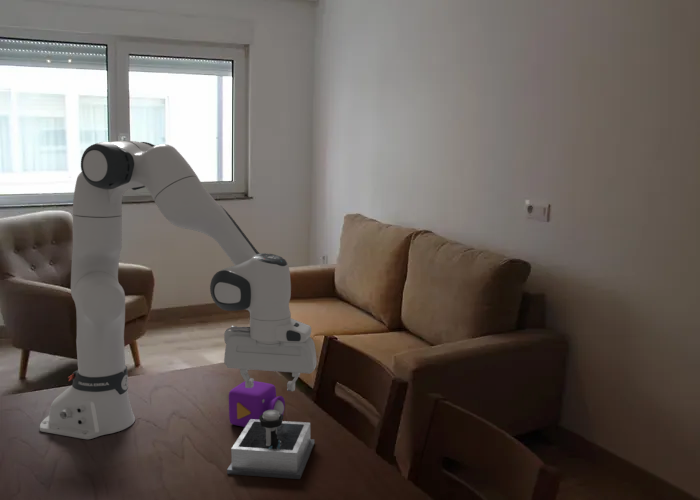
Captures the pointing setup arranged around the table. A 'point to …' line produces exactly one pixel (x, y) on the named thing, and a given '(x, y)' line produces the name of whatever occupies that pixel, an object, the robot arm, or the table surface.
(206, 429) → the table surface
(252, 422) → the grey open box
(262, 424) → the push button
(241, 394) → the toy camera
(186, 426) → the table surface
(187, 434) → the table surface
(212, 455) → the table surface
